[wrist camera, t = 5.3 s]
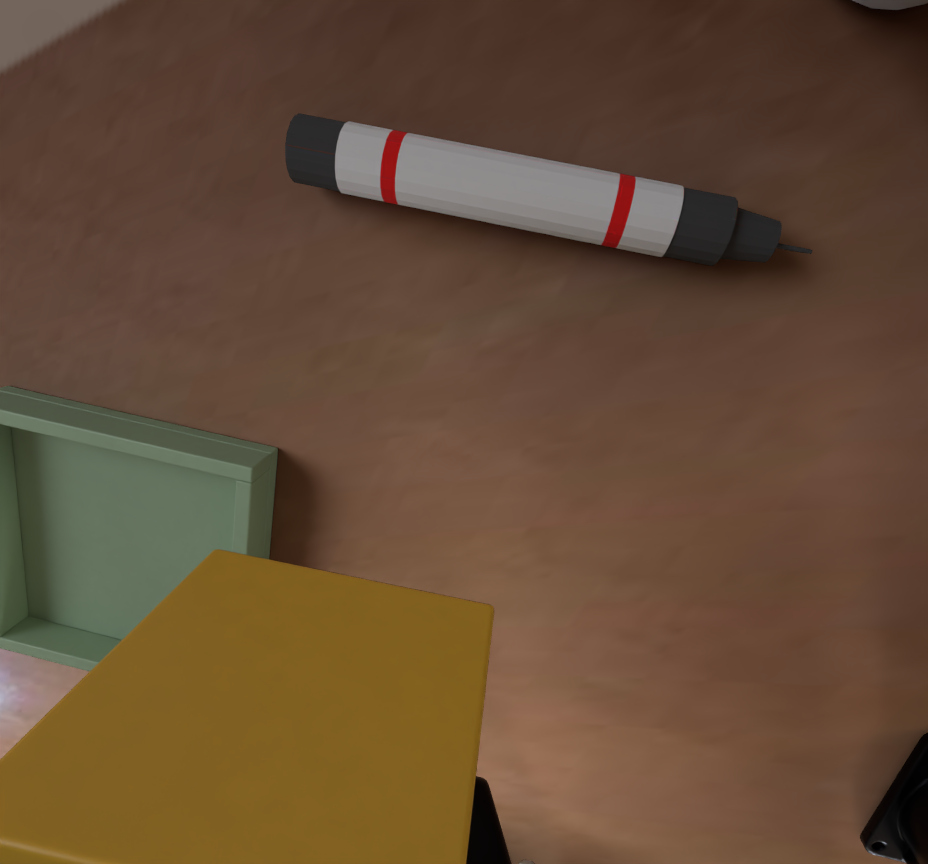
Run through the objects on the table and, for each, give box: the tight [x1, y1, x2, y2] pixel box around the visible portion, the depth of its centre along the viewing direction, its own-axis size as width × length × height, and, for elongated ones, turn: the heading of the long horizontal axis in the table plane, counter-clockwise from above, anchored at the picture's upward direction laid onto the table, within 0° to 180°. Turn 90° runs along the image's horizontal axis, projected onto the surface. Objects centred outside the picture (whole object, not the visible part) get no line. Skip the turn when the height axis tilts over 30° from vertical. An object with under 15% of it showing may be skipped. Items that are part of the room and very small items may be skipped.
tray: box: [0, 386, 278, 671], centre depth 23 cm, size 11×11×2 cm
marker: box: [285, 114, 812, 266], centre depth 17 cm, size 15×2×2 cm, turn 79°
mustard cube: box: [0, 549, 494, 864], centre depth 7 cm, size 4×4×4 cm
